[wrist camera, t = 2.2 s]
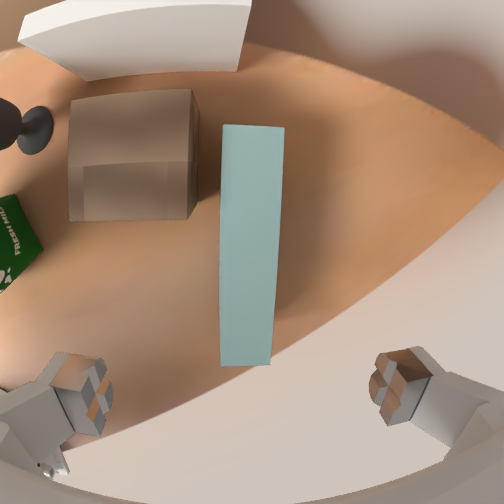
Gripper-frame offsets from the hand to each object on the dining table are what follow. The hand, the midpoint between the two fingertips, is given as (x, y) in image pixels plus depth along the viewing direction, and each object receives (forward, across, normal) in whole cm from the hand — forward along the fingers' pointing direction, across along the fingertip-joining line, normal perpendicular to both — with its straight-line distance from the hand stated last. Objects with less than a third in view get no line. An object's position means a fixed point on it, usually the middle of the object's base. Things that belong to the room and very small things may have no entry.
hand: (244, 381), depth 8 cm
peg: (+17, -1, +1) cm, 17 cm away
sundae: (+20, +20, -10) cm, 30 cm away
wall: (+20, +7, -15) cm, 26 cm away
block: (+19, +7, -6) cm, 22 cm away
